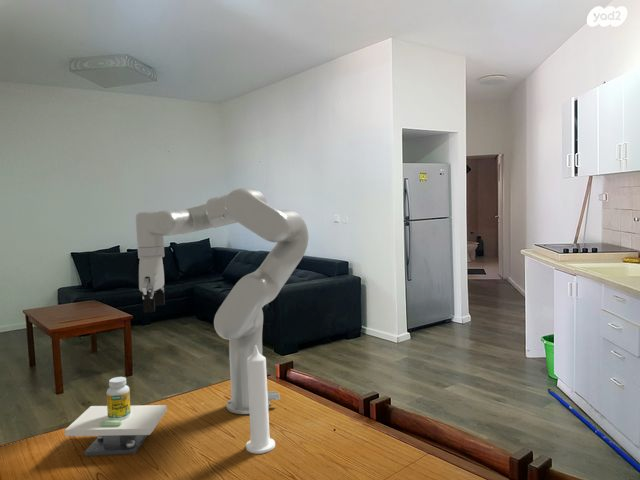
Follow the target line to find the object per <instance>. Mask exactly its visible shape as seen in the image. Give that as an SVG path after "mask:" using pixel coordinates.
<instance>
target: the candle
mask: <svg viewBox="0 0 640 480" xmlns="http://www.w3.org/2000/svg"><path fill="white" fill-rule="evenodd" d="M247 374H248V393H249V413H250V414H249V426H250V427H249V429H250V439H249V440H248V441H247V442H246V443H245V449H246V451H247V452H249V453H251V454H256V455H258V454H260V455H261V454H265V453H269V452H271V451H272V450H273V449H274V448H275V447H276V441H275V439H273V438H271V437H270V417H269V415H270V414H269V407H268V394H267V391H268V379H267V376H268V375H267V374H268V373H267V358H266V356H264V355H263V354H262V355H261V354H260V353H259V351H258V348H257V345H255V346H254V352H253V354H252V355H251V356H250V357H249V358H248V359H247Z"/></svg>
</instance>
